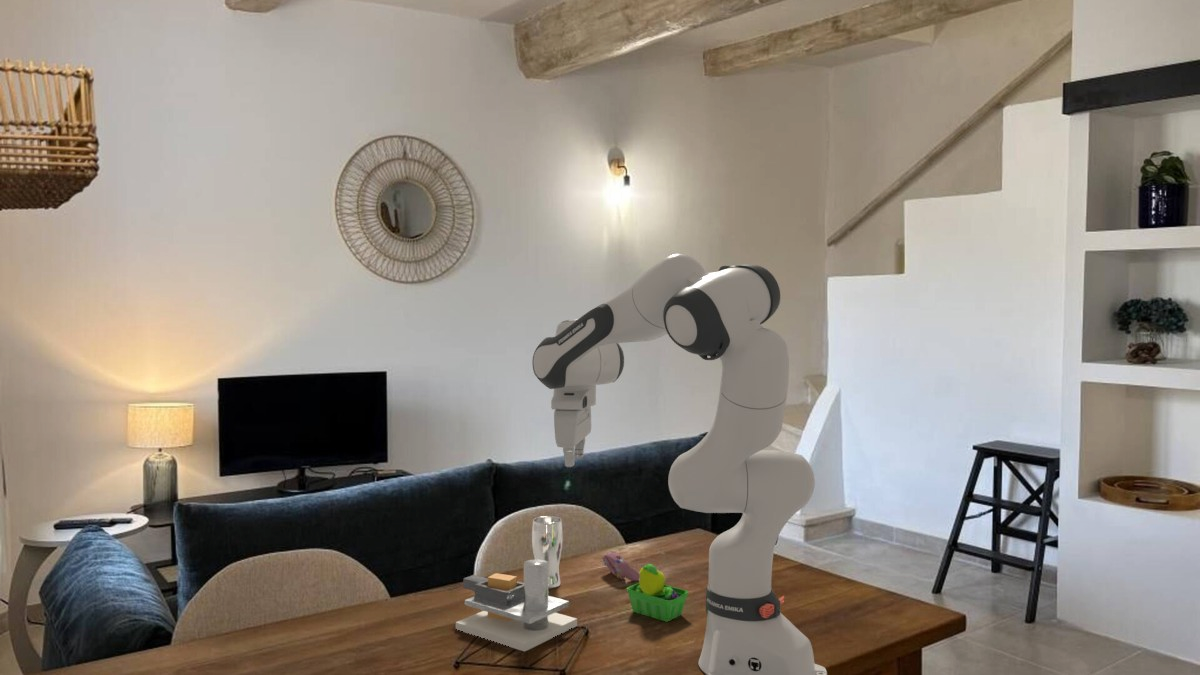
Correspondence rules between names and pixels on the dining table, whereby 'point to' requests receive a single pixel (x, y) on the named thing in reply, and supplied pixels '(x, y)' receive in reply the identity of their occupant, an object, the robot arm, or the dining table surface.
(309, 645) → the dining table surface
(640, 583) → the fruit basket
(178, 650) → the dining table surface
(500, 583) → the wedge
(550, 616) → the board
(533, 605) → the grey metal fixture
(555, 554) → the beer glass
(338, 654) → the dining table surface
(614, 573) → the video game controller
